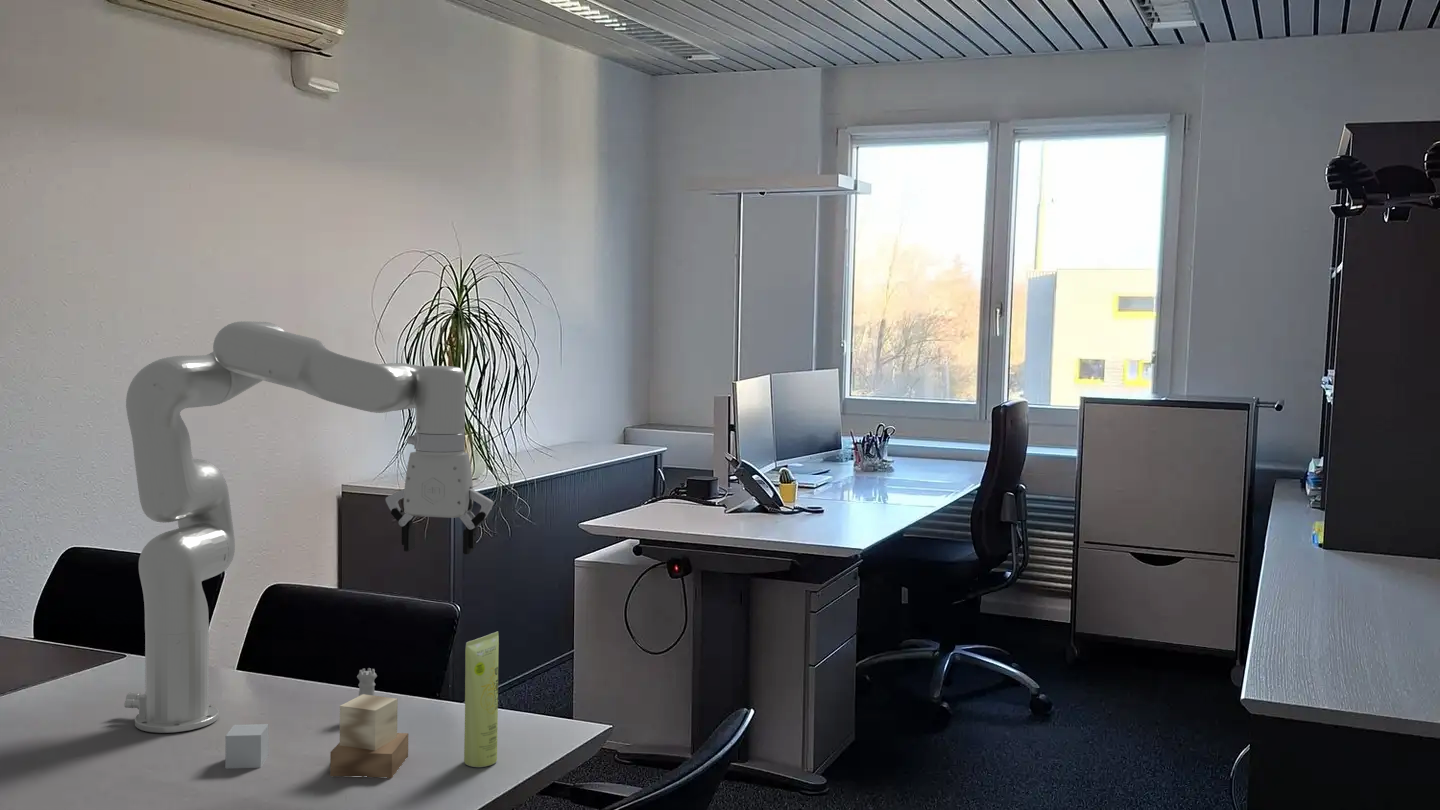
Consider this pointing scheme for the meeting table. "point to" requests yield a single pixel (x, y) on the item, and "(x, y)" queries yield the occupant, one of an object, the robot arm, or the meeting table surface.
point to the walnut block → (369, 759)
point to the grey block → (246, 746)
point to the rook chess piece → (366, 681)
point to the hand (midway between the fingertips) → (438, 551)
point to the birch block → (368, 722)
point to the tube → (481, 701)
